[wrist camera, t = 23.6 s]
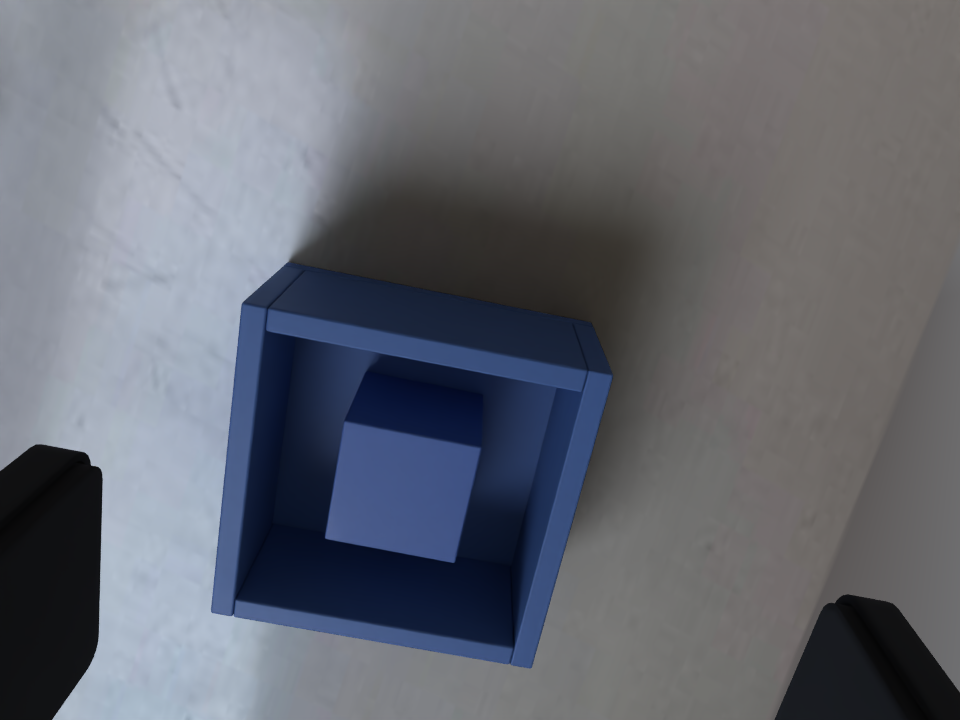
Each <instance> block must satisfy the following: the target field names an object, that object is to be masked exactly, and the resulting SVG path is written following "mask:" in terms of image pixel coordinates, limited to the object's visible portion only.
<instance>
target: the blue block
mask: <svg viewBox="0 0 960 720" xmlns="http://www.w3.org/2000/svg"><path fill="white" fill-rule="evenodd" d="M482 433H483V395H482V394H477V393H472V392H467V391H462V390H457V389H452V388H447V387H442V386H437V385H432V384H427V383H422V382H417V381H412V380H407V379H402V378H397V377H392V376H387V375H382V374H377V373H373V372H368V371H367V372H365V374H364V376H363V378H362V381H361V383H360V385H359V388H358V390H357V392H356V395H355V397H354V399H353V401H352V404H351V406H350V408H349V411H348V413H347V415H346V417H345V420H344V423H343V429H342V435H341V441H340V447H339V454H338V460H337V466H336V472H335V478H334V484H333V490H332V496H331V502H330V508H329V514H328V520H327V526H326V532H325V539H329V540H334V541H339V542H345V543H350V544H355V545H361V546H366V547H371V548H377V549H382V550H387V551H393V552H398V553H403V554H409V555H414V556H419V557H425V558H430V559H435V560H440V561H446V562H451V563H454V562H455V561H456V557H457V553H458V549H459V545H460V540H461V536H462V532H463V528H464V523H465V519H466V515H467V511H468V506H469V502H470V498H471V494H472V489H473V485H474V481H475V477H476V472H477V468H478V464H479V460H480V455H481V451H482Z"/></svg>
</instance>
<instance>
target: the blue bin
mask: <svg viewBox="0 0 960 720" xmlns="http://www.w3.org/2000/svg"><path fill="white" fill-rule="evenodd" d="M367 371H368V372H373V373H377V374H382V375H387V376H392V377H397V378H402V379H407V380H412V381H417V382H422V383H427V384H432V385H437V386H442V387H447V388H452V389H457V390H462V391H467V392H472V393H477V394H482V395H483V433H482V451H481V455H480V460H479V464H478V468H477V472H476V477H475V481H474V485H473V489H472V494H471V498H470V502H469V506H468V511H467V515H466V519H465V523H464V528H463V532H462V536H461V540H460V545H459V549H458V553H457V557H456V561H455V562H454V563H451V562H446V561H440V560H435V559H430V558H425V557H419V556H414V555H409V554H403V553H398V552H393V551H387V550H382V549H377V548H371V547H366V546H361V545H355V544H350V543H345V542H339V541H334V540H329V539H325V532H326V526H327V520H328V514H329V508H330V502H331V496H332V490H333V484H334V478H335V472H336V466H337V460H338V454H339V447H340V441H341V435H342V429H343V423H344V420H345V417H346V415H347V413H348V411H349V408H350V406H351V404H352V401H353V399H354V397H355V395H356V392H357V390H358V388H359V385H360V383H361V381H362V378H363V376H364V374H365V372H367ZM612 379H613V373H612V371H611V369H610V366H609V364H608V361H607V359H606V357H605V354H604V352H603V349H602V347H601V345H600V342H599V340H598V337H597V335H596V332H595V330H594V328H593V326H592V323H591V322H586V321H581V320H576V319H571V318H566V317H561V316H556V315H551V314H546V313H541V312H536V311H531V310H526V309H521V308H516V307H511V306H506V305H501V304H496V303H491V302H486V301H480V300H475V299H470V298H465V297H460V296H455V295H450V294H445V293H440V292H435V291H430V290H425V289H420V288H415V287H410V286H405V285H400V284H395V283H390V282H385V281H380V280H375V279H370V278H365V277H360V276H355V275H350V274H345V273H340V272H335V271H330V270H325V269H320V268H315V267H310V266H305V265H300V264H295V263H290V262H288V263H286V264H285V265H284V267H282V268H281V269H280V270H279V271H278V272H277V273H275V274H274V275H273V276H272V277H271V278H270V279H269V280H267V281H266V282H265V283H264V284H263V285H262V286H261V287H260V288H258V289H257V290H256V291H255V292H254V293H253V294H252V295H251V296H249V297H248V298H247V299H246V300H245V301H244V302H243V303H242V307H241V317H240V327H239V337H238V347H237V357H236V367H235V377H234V387H233V397H232V407H231V417H230V427H229V437H228V447H227V457H226V467H225V477H224V487H223V497H222V507H221V517H220V527H219V537H218V547H217V557H216V567H215V577H214V587H213V597H212V607H211V612H212V613H216V614H221V615H227V616H232V615H233V614H234V617H238V618H244V619H250V620H255V621H261V622H267V623H273V624H278V625H284V626H290V627H296V628H301V629H307V630H313V631H319V632H325V633H330V634H336V635H342V636H348V637H353V638H359V639H365V640H371V641H376V642H382V643H388V644H394V645H399V646H405V647H411V648H417V649H423V650H428V651H434V652H440V653H446V654H451V655H457V656H463V657H469V658H474V659H480V660H486V661H492V662H498V663H503V664H509V663H510V664H511V665H513V666H519V667H525V668H532V665H533V661H534V658H535V654H536V651H537V647H538V643H539V640H540V636H541V633H542V629H543V626H544V622H545V618H546V615H547V611H548V608H549V604H550V601H551V597H552V593H553V590H554V586H555V583H556V579H557V576H558V572H559V568H560V565H561V561H562V558H563V554H564V551H565V547H566V543H567V540H568V536H569V533H570V529H571V525H572V522H573V518H574V515H575V511H576V508H577V504H578V500H579V497H580V493H581V490H582V486H583V483H584V479H585V475H586V472H587V468H588V465H589V461H590V458H591V454H592V450H593V447H594V443H595V440H596V436H597V433H598V429H599V425H600V422H601V418H602V415H603V411H604V408H605V404H606V400H607V397H608V393H609V390H610V386H611V383H612Z"/></svg>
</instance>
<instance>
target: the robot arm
mask: <svg viewBox="0 0 960 720" xmlns="http://www.w3.org/2000/svg"><path fill="white" fill-rule="evenodd" d="M102 481H103V479H102V472H101V469H100V468H99V467H96V466H91V462H90V459H89V456H88V455H87V454H86V453H85V452H79V451H74V450H69V449H63V448H58V447H52V446H47V445H42V444H41V445H34V446H33V447H31V448H29V449H28V450H27V451H25V452H24V453H23V454H22V455H20V456H19V457H18V458H17V459H15V460H14V461H13V462H11V463H10V464H9V465H8V466H6V467H5V468H4V469H3V470H1V471H0V720H52V719H53V718H54V716H55V715H56V713H57V712H58V710H59V709H60V708H61V706H62V705H63V703H64V702H65V700H66V699H67V698H68V696H69V695H70V693H71V692H72V690H73V689H74V688H75V686H76V685H77V683H78V682H79V680H80V679H81V678H82V676H83V675H84V673H85V672H86V671H87V669H88V667H89V666H90V664H91V662H92V659H93V657H94V654H95V651H96V648H97V644H98V637H99V600H100V560H101V521H102ZM775 720H960V692H959V691H958V690H957V688H956V687H955V685H954V684H953V683H952V681H951V680H950V679H949V677H948V676H947V675H946V673H945V672H944V670H943V669H942V668H941V666H940V665H939V664H938V662H937V661H936V660H935V658H934V657H933V655H932V654H931V653H930V651H929V650H928V649H927V647H926V646H925V645H924V643H923V642H922V641H921V639H920V638H919V636H918V635H917V634H916V632H915V631H914V630H913V628H912V627H911V626H910V624H909V623H908V621H907V620H906V619H905V617H904V616H903V615H902V613H901V612H900V610H899V609H898V608H897V607H896V606H895V605H894V604H892V603H889V602H886V601H881V600H875V599H870V598H864V597H859V596H853V595H843V596H841V597H840V598H839V599H838V600H837V601H836V603H829V604H827V605H825V606H824V607H823V610H822V611H821V613H820V615H819V617H818V620H817V622H816V624H815V627H814V629H813V631H812V634H811V636H810V638H809V641H808V643H807V645H806V648H805V650H804V652H803V655H802V657H801V659H800V662H799V664H798V666H797V669H796V671H795V673H794V676H793V678H792V680H791V683H790V685H789V687H788V689H787V692H786V694H785V696H784V699H783V701H782V703H781V706H780V708H779V710H778V713H777V715H776V718H775Z"/></svg>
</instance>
